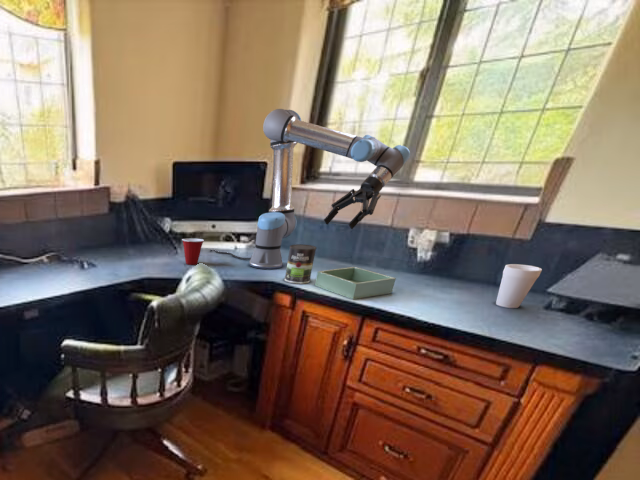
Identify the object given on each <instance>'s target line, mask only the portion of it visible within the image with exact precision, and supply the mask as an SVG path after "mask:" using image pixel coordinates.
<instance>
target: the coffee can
mask: <svg viewBox="0 0 640 480" xmlns="http://www.w3.org/2000/svg"><path fill="white" fill-rule="evenodd" d="M288 250H289V251H288V256H287V263H286V269H285V276H284V282H287V283H289V284H297V285H303V284H308V283H310V281H311V276H312V270H313V266H314V261H315V256H316V250H317V246H315V245H311V244H304V243H303V244H300V243H299V244H298V243H297V244H296V243H295V244H291V245H290V246H289V249H288Z"/></svg>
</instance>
